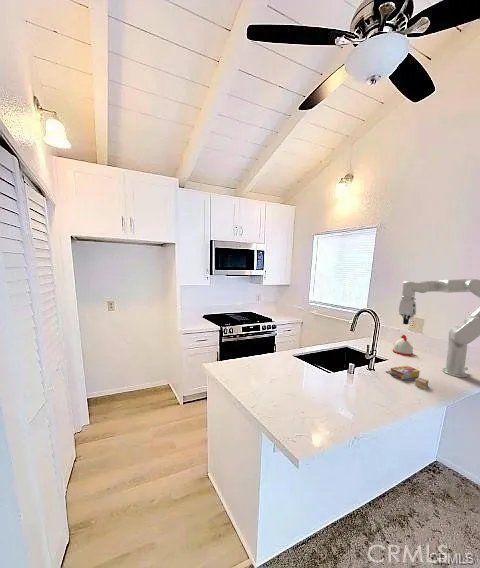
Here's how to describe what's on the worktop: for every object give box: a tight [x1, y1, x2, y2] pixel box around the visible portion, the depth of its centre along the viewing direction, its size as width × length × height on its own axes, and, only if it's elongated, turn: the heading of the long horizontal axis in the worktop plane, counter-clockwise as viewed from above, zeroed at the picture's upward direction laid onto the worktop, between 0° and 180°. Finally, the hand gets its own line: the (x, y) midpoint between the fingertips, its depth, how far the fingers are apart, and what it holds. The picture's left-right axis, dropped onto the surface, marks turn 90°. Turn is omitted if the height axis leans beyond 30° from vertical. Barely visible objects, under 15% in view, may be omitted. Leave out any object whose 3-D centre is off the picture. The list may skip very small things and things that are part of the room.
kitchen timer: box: [392, 334, 414, 357], centre depth 209 cm, size 14×14×15 cm
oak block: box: [414, 376, 430, 390], centre depth 150 cm, size 5×5×4 cm
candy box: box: [389, 365, 421, 380], centre depth 164 cm, size 9×4×15 cm
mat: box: [385, 370, 418, 382], centre depth 165 cm, size 14×14×1 cm
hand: (405, 324), depth 183 cm, fingers closed
